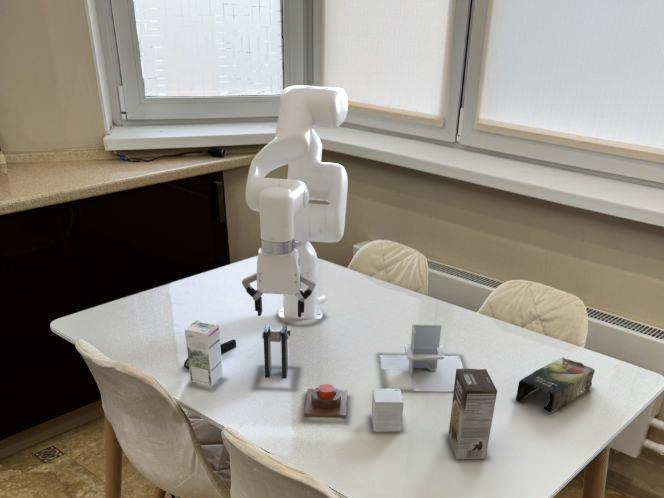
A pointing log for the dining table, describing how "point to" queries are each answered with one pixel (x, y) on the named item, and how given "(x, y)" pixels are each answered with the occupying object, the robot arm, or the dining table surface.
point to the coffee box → (471, 413)
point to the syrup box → (204, 352)
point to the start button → (326, 391)
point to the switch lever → (276, 335)
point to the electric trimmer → (224, 348)
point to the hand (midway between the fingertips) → (280, 314)
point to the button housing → (326, 404)
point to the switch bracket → (268, 350)
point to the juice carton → (558, 382)
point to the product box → (387, 410)
